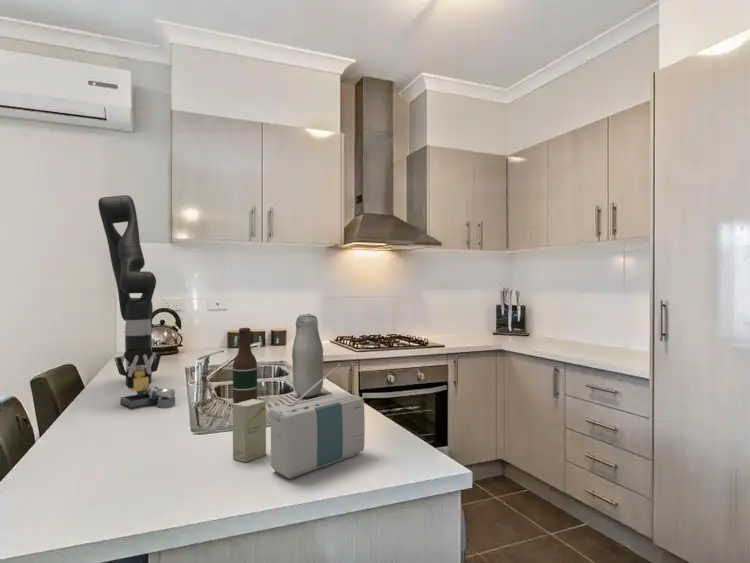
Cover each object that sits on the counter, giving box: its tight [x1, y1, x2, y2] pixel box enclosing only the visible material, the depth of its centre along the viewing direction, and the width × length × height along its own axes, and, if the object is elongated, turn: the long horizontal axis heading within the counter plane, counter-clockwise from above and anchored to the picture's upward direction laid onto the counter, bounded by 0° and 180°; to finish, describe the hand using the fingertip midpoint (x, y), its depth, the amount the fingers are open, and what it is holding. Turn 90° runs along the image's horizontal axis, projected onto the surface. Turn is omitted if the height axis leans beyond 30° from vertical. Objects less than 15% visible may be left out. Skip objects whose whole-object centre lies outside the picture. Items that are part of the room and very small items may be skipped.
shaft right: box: [149, 385, 176, 409], centre depth 152 cm, size 7×4×6 cm, turn 76°
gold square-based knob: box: [128, 370, 150, 393], centre depth 154 cm, size 4×4×6 cm
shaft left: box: [135, 383, 152, 395], centre depth 163 cm, size 7×4×6 cm, turn 16°
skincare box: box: [232, 399, 267, 463], centre depth 107 cm, size 6×4×12 cm
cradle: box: [119, 393, 160, 411], centre depth 154 cm, size 9×9×2 cm
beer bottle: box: [232, 327, 258, 404], centre depth 157 cm, size 8×8×24 cm
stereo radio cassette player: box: [268, 363, 366, 480], centre depth 103 cm, size 21×8×20 cm, turn 136°
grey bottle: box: [291, 313, 324, 398], centre depth 163 cm, size 10×10×28 cm
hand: (138, 386), depth 154 cm, fingers closed on gold square-based knob, 4 cm apart
